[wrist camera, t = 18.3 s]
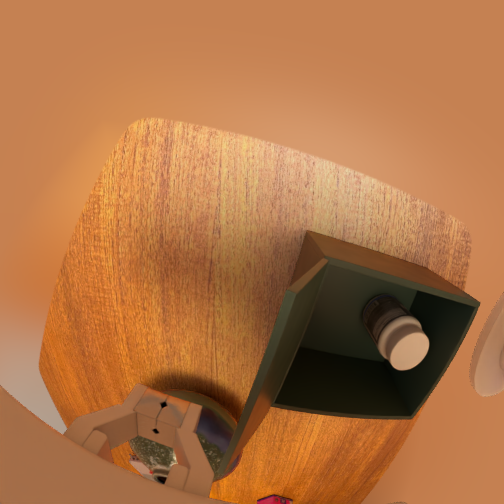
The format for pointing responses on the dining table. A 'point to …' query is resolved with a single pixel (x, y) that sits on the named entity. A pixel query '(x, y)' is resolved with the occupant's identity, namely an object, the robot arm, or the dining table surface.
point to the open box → (358, 339)
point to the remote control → (141, 467)
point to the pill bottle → (395, 332)
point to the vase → (208, 431)
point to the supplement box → (274, 500)
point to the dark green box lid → (276, 357)
